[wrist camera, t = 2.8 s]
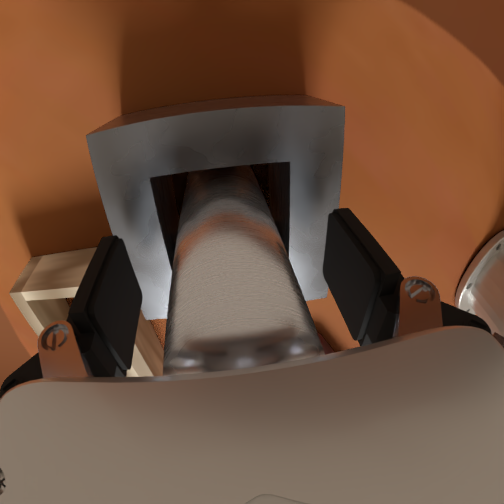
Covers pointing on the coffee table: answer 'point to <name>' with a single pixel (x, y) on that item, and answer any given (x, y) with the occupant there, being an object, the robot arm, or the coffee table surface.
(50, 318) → the rack
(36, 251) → the coffee table surface
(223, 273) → the silver metal cylinder
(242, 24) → the coffee table surface
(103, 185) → the socket
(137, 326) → the robot arm
